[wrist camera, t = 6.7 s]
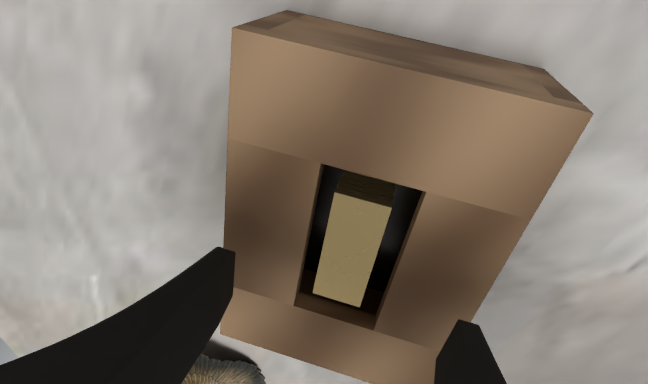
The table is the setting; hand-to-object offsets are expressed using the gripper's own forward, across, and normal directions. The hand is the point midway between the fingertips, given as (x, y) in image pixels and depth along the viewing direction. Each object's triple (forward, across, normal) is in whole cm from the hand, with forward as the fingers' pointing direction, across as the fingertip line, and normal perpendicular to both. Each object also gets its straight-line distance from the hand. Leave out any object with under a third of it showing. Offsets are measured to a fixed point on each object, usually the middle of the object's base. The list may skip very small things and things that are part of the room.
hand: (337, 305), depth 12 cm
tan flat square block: (+8, 0, 0) cm, 8 cm away
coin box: (+7, 0, 0) cm, 7 cm away
